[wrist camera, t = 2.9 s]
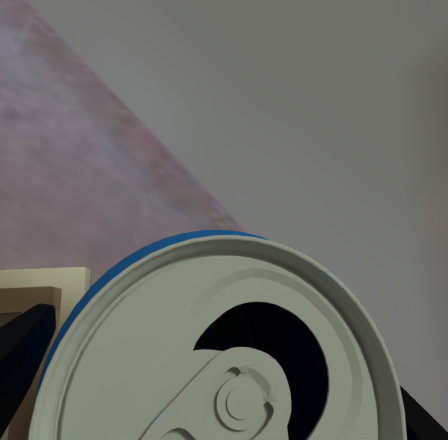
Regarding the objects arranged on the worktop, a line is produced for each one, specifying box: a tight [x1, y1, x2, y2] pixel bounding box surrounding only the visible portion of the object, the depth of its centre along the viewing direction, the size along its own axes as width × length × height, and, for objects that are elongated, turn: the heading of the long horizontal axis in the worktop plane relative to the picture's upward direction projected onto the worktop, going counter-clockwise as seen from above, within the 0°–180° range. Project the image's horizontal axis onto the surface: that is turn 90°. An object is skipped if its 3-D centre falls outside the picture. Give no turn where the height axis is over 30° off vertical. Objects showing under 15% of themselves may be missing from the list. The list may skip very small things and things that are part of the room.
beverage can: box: [28, 230, 407, 440], centre depth 10 cm, size 6×6×12 cm
